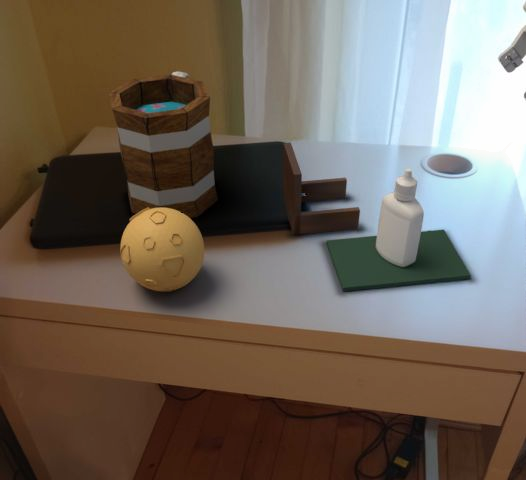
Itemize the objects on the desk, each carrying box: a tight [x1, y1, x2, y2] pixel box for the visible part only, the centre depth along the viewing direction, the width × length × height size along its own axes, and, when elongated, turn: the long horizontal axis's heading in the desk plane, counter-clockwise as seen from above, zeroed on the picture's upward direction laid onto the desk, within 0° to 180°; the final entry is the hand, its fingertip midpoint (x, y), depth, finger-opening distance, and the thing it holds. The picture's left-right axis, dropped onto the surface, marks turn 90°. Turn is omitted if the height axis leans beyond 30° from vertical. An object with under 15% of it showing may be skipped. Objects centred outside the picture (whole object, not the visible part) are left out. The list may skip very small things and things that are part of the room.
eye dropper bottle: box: [376, 168, 425, 267], centre depth 76 cm, size 4×6×12 cm
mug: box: [108, 71, 219, 219], centre depth 89 cm, size 20×14×15 cm
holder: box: [282, 141, 361, 236], centre depth 85 cm, size 9×9×9 cm
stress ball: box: [119, 207, 205, 292], centre depth 75 cm, size 10×10×10 cm
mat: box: [325, 229, 472, 292], centre depth 80 cm, size 16×10×1 cm, turn 97°
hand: (514, 84), depth 64 cm, fingers open, 8 cm apart
